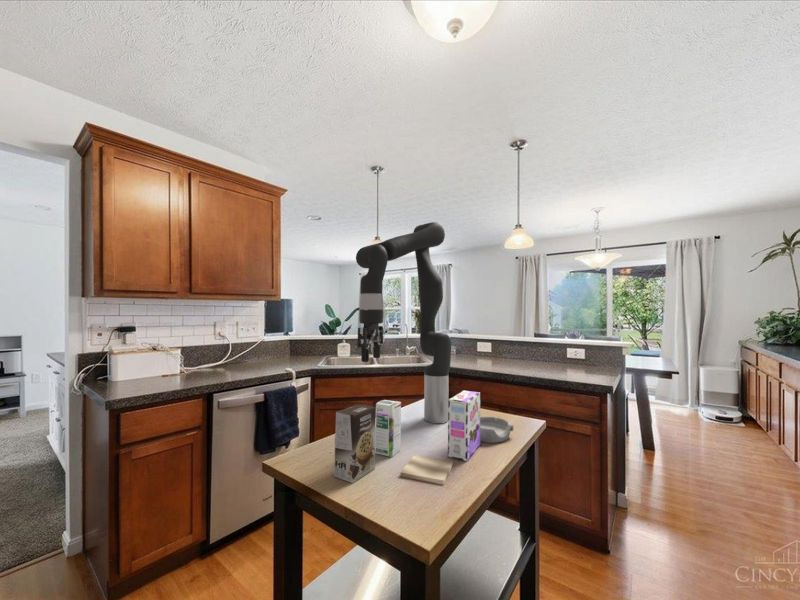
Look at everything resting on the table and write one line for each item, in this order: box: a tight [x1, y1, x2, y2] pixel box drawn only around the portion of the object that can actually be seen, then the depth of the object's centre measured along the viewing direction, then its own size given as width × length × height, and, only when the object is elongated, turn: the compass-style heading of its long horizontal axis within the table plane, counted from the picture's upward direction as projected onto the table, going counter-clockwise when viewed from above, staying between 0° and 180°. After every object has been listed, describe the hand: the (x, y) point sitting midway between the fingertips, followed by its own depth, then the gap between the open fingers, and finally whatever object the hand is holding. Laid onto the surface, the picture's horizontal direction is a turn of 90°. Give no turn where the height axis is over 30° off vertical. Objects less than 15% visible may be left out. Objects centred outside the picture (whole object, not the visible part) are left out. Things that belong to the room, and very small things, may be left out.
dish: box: [480, 416, 514, 444], centre depth 111 cm, size 14×14×5 cm
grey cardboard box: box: [333, 404, 376, 484], centre depth 85 cm, size 9×6×16 cm
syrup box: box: [375, 399, 402, 458], centre depth 98 cm, size 6×6×14 cm
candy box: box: [447, 390, 481, 462], centre depth 99 cm, size 14×6×16 cm, turn 151°
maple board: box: [400, 454, 454, 486], centre depth 86 cm, size 11×11×1 cm
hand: (371, 359), depth 105 cm, fingers open, 8 cm apart
